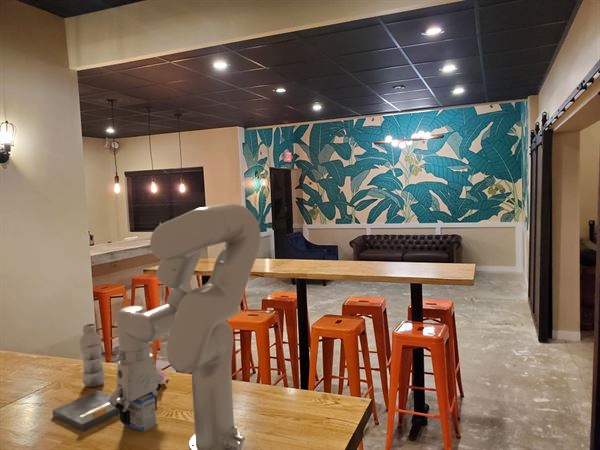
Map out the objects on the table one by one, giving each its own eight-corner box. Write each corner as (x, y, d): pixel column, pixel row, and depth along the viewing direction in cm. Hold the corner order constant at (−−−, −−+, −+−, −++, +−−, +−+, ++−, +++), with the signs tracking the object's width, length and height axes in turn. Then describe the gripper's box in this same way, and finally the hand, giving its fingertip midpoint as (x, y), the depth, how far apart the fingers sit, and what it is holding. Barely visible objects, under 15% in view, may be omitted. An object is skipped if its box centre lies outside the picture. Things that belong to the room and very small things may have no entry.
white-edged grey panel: (129, 409, 134) (128, 395, 134) (83, 432, 122) (82, 417, 122) (98, 396, 143) (97, 383, 142) (53, 416, 131) (51, 403, 131)
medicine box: (123, 426, 125) (120, 395, 124) (136, 418, 129) (133, 388, 128) (144, 432, 121) (142, 401, 120) (157, 424, 125) (155, 393, 124)
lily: (155, 400, 141) (169, 370, 143) (122, 383, 143) (137, 354, 144) (169, 394, 153) (182, 366, 154) (139, 379, 155) (152, 351, 156)
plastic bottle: (97, 390, 147) (92, 329, 145) (78, 389, 148) (73, 328, 146) (109, 381, 153) (104, 322, 151) (91, 380, 154) (86, 321, 152)
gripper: (114, 368, 114) (119, 435, 116) (170, 345, 128) (174, 406, 130) (96, 362, 118) (101, 427, 120) (152, 340, 132) (156, 399, 134)
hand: (139, 416), depth 125 cm, fingers open, 7 cm apart
